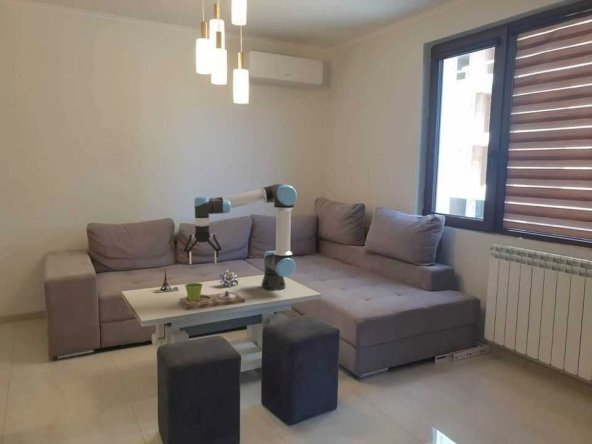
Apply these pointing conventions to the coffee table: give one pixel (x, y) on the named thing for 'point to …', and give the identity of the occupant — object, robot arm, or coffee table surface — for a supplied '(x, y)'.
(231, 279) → the passion flower
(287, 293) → the coffee table surface
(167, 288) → the eiffel tower figurine
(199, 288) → the plant pot
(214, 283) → the coffee table surface
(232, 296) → the mount board
